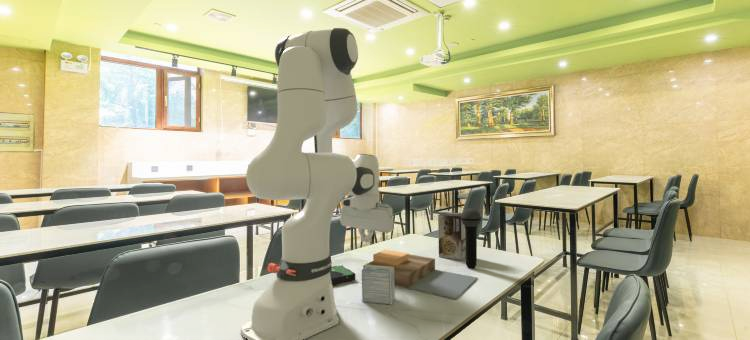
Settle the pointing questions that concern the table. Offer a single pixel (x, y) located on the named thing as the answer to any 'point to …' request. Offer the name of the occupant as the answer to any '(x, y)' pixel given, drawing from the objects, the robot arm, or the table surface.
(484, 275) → the table surface
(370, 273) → the medicine box
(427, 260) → the board
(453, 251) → the coffee box
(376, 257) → the orange block
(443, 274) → the mat
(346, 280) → the disk drive
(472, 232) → the microphone
